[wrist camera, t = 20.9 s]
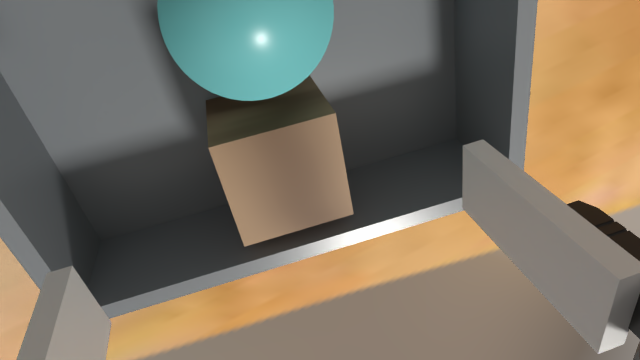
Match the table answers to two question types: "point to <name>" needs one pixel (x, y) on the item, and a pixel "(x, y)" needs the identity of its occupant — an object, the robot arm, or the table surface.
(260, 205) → the walnut cube
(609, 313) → the robot arm
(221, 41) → the teal cylinder
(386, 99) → the tote
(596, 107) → the table surface
